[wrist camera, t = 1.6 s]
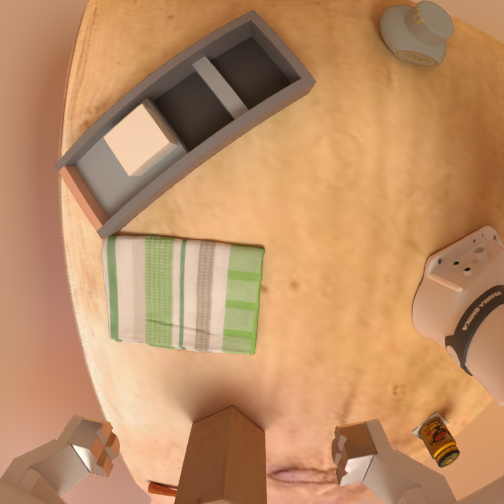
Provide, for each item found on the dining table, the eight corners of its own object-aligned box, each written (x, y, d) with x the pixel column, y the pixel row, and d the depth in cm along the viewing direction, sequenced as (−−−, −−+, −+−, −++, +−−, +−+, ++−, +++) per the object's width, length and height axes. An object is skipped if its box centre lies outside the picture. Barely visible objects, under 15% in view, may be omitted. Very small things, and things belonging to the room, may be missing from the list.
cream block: (153, 110, 33) (141, 103, 29) (178, 145, 34) (169, 142, 30) (117, 140, 34) (103, 137, 30) (141, 175, 35) (129, 176, 31)
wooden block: (191, 423, 49) (171, 509, 29) (232, 404, 47) (223, 499, 28) (225, 449, 51) (217, 530, 31) (266, 432, 49) (268, 520, 30)
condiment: (436, 411, 49) (458, 446, 37) (448, 422, 50) (468, 454, 38) (411, 431, 50) (429, 468, 38) (425, 441, 51) (442, 474, 40)
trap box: (253, 28, 32) (253, 9, 27) (308, 93, 35) (316, 81, 29) (76, 164, 37) (55, 165, 32) (119, 230, 40) (101, 238, 34)
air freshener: (375, 55, 33) (404, 29, 23) (371, 12, 31) (395, -19, 21) (436, 73, 33) (473, 56, 23) (431, 31, 31) (463, 9, 21)
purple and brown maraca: (144, 488, 52) (224, 503, 50) (152, 474, 57) (228, 487, 56) (149, 500, 52) (225, 515, 50) (156, 487, 58) (229, 500, 56)
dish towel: (107, 231, 40) (96, 236, 37) (265, 242, 40) (266, 248, 37) (116, 334, 45) (107, 344, 41) (255, 351, 45) (255, 364, 41)
